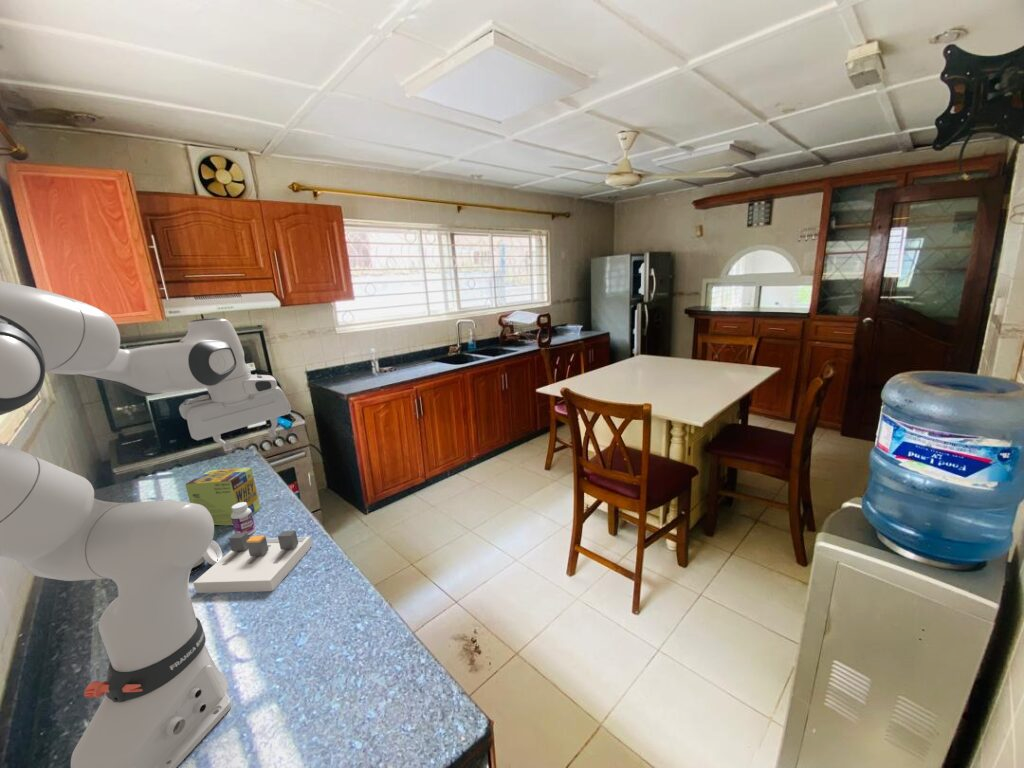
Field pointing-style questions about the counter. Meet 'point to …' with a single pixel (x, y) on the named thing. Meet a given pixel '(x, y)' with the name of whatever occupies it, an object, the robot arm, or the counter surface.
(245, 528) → the pill bottle
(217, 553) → the spread jar
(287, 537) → the block
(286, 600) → the counter surface
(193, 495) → the protein box
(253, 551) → the breaker
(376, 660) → the counter surface
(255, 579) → the box
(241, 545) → the left breaker
